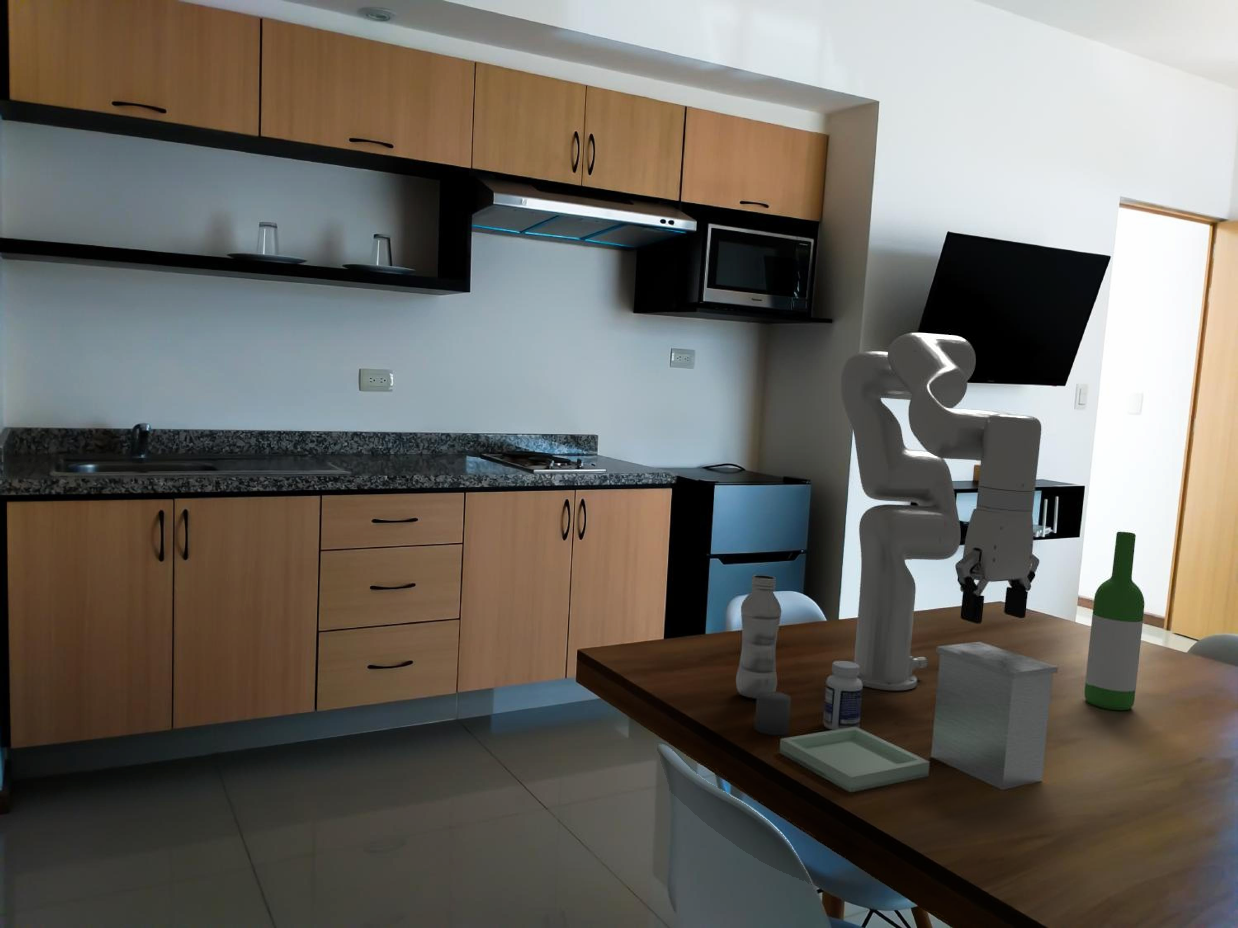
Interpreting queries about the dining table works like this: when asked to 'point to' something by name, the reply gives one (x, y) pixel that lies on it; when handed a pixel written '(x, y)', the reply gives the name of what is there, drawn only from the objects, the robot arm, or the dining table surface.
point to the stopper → (772, 713)
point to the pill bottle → (843, 696)
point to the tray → (854, 758)
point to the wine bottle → (1116, 633)
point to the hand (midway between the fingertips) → (993, 618)
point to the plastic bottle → (759, 638)
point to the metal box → (992, 713)
